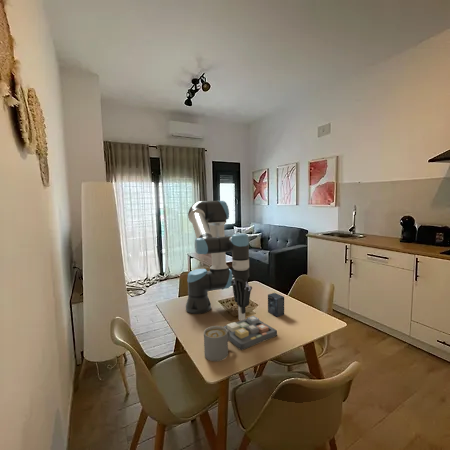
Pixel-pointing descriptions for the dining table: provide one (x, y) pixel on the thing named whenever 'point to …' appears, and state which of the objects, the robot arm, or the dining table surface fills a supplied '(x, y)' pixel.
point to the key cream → (233, 326)
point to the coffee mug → (216, 343)
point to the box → (276, 304)
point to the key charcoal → (252, 329)
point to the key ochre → (242, 333)
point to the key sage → (243, 325)
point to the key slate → (253, 320)
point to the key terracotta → (263, 328)
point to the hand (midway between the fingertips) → (242, 319)
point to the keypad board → (251, 336)
